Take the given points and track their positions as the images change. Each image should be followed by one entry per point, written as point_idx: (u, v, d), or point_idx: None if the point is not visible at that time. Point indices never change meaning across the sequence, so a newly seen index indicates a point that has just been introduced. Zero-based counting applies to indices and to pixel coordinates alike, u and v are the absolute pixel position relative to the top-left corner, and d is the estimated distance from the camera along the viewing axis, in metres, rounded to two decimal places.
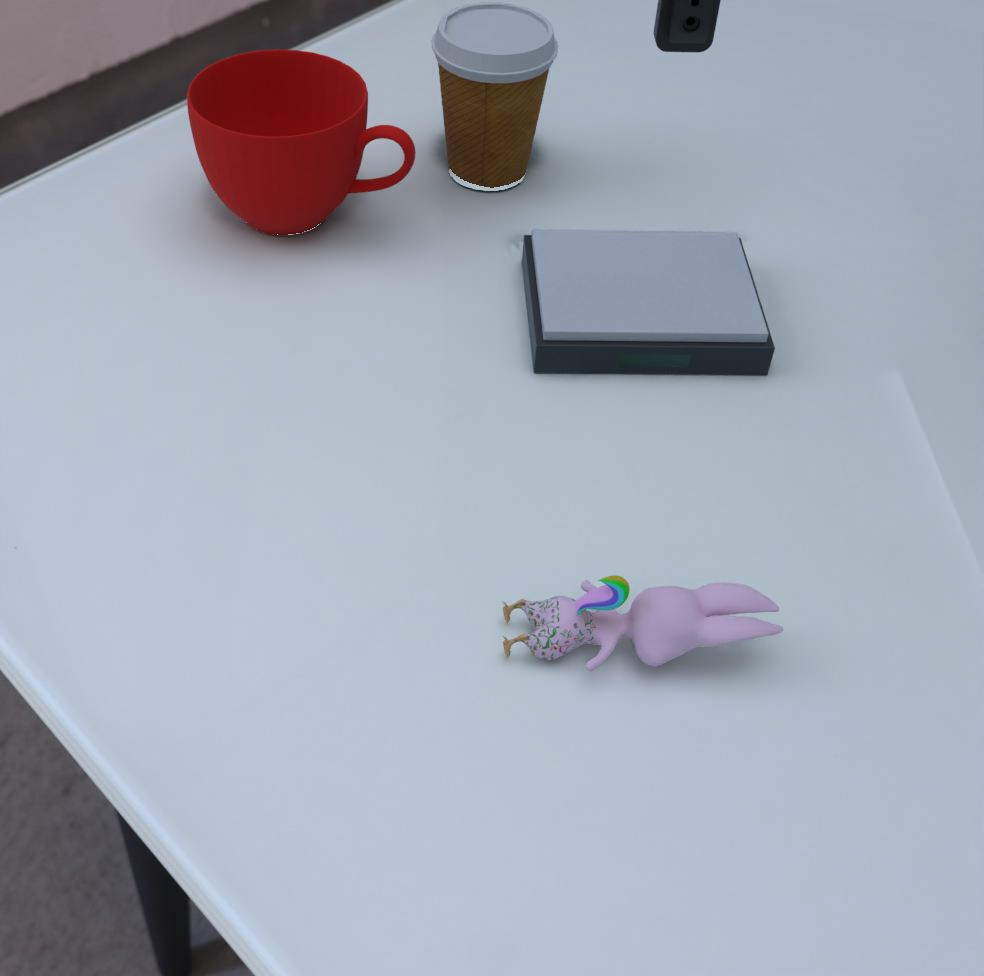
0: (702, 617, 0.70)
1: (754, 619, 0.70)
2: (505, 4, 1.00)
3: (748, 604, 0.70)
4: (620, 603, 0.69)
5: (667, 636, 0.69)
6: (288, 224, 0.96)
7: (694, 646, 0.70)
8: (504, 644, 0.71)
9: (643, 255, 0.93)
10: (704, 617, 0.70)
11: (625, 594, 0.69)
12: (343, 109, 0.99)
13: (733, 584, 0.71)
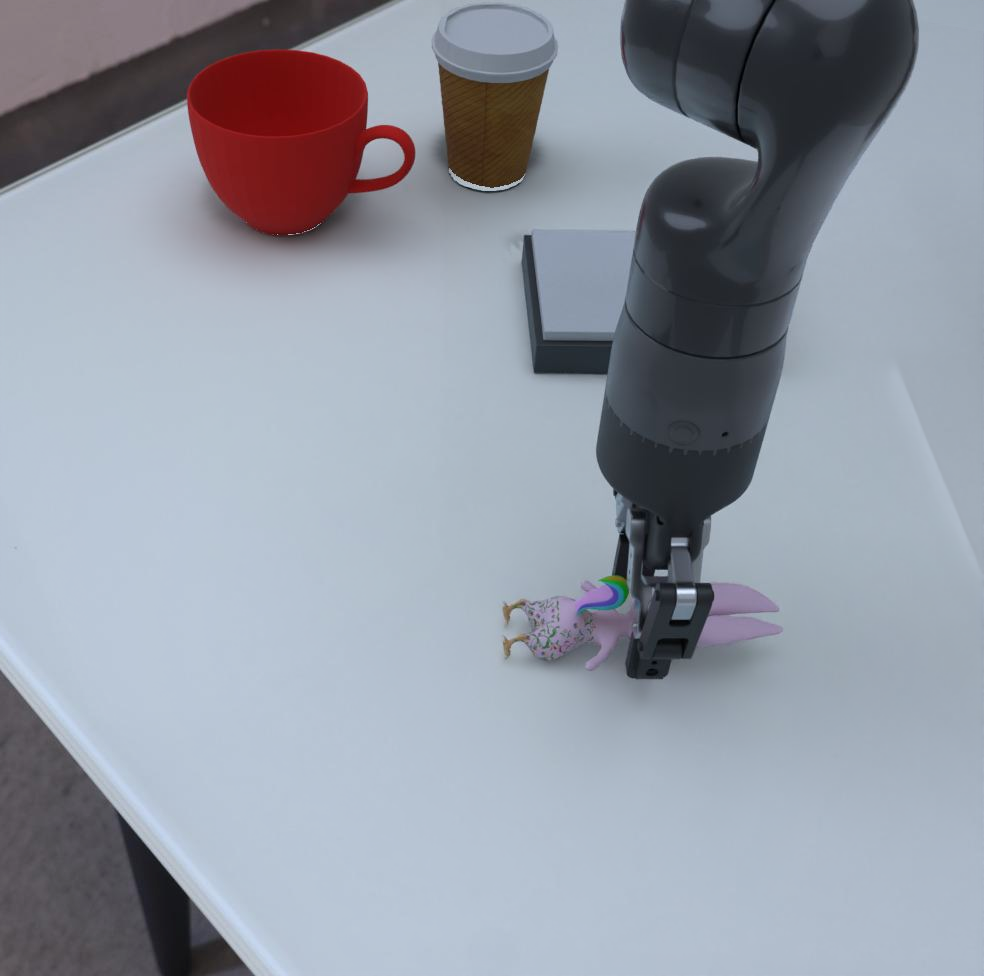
0: None
1: (754, 619, 0.70)
2: (505, 4, 1.00)
3: (748, 604, 0.70)
4: (620, 603, 0.69)
5: None
6: (288, 224, 0.96)
7: None
8: (504, 644, 0.71)
9: None
10: None
11: (625, 594, 0.69)
12: (343, 109, 0.99)
13: (733, 584, 0.71)
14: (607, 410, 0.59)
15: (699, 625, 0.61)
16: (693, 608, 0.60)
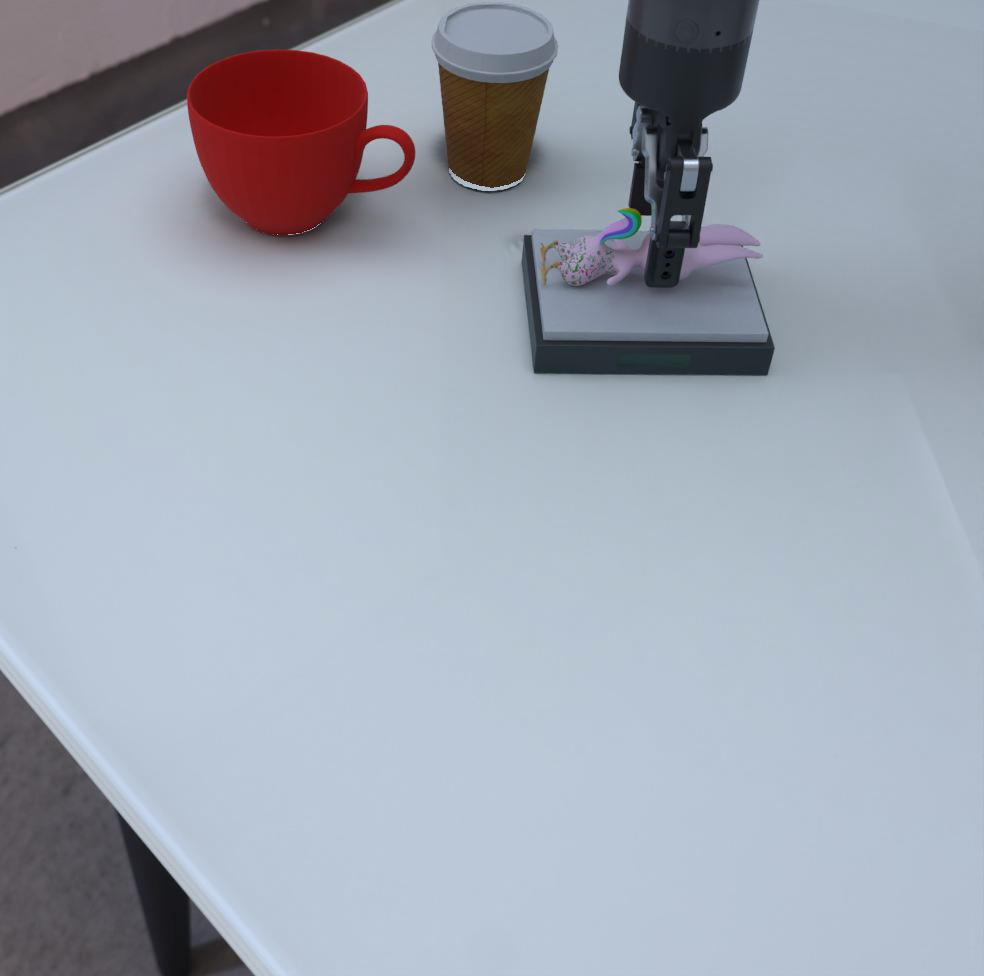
0: (699, 245, 0.88)
1: None
2: (505, 3, 1.00)
3: (735, 238, 0.89)
4: (634, 230, 0.87)
5: None
6: (288, 224, 0.96)
7: (692, 268, 0.88)
8: (542, 270, 0.89)
9: None
10: (700, 245, 0.88)
11: (638, 222, 0.87)
12: (343, 109, 0.99)
13: None
14: (628, 30, 0.77)
15: (702, 197, 0.78)
16: (697, 174, 0.77)
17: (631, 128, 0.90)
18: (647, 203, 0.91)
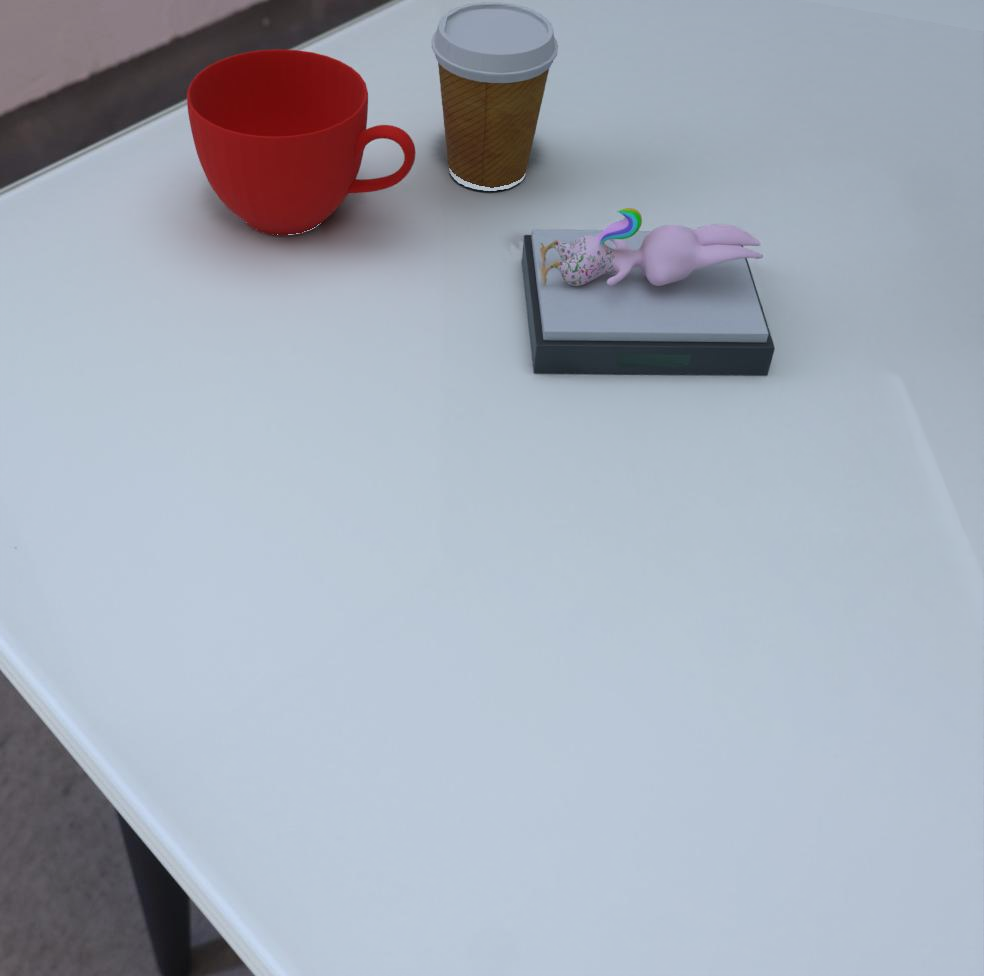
0: (699, 245, 0.88)
1: None
2: (505, 3, 1.00)
3: (735, 238, 0.89)
4: (634, 230, 0.87)
5: (671, 257, 0.88)
6: (288, 224, 0.96)
7: (692, 268, 0.88)
8: (542, 270, 0.89)
9: None
10: (700, 245, 0.88)
11: (638, 222, 0.87)
12: (343, 109, 0.99)
13: None
14: None
15: None
16: None
17: None
18: None
